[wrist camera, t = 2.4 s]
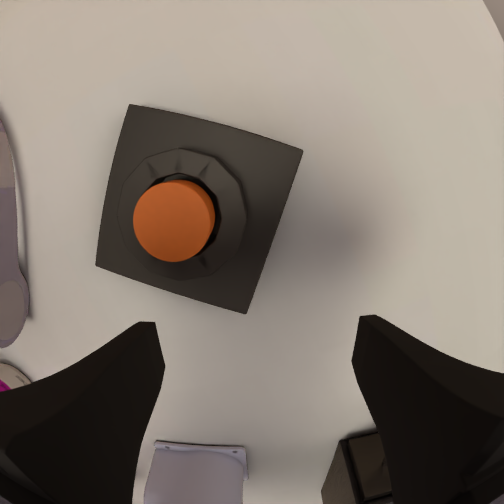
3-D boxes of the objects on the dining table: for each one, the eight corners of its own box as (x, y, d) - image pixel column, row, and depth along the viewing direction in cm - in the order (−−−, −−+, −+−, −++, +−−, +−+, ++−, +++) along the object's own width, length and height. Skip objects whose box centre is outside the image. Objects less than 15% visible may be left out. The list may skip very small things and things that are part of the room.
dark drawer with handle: (360, 404, 21) (385, 469, 14) (459, 378, 21) (493, 424, 14) (328, 489, 27) (336, 532, 20) (404, 471, 27) (418, 508, 20)
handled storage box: (339, 440, 24) (357, 510, 15) (438, 414, 24) (468, 469, 15) (320, 491, 28) (329, 542, 20) (401, 472, 28) (417, 517, 20)
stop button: (139, 239, 14) (126, 249, 13) (154, 171, 13) (142, 173, 11) (204, 259, 15) (198, 272, 13) (224, 191, 14) (220, 195, 12)
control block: (106, 257, 18) (81, 276, 14) (139, 108, 15) (115, 98, 12) (246, 302, 19) (245, 331, 15) (298, 151, 16) (311, 149, 13)
